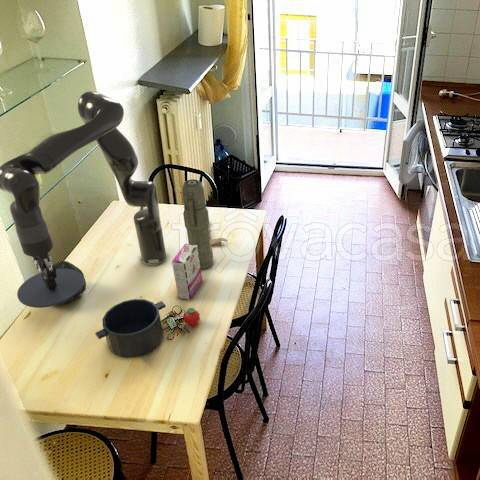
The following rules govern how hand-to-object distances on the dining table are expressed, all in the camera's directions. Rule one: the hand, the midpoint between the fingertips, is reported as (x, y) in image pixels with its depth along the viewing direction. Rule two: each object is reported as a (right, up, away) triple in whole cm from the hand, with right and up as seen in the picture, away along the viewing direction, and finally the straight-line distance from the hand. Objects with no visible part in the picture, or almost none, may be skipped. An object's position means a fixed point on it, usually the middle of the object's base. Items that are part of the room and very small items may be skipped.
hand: (50, 285), depth 148 cm
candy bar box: (+31, -5, +36) cm, 48 cm away
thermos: (+32, +4, +50) cm, 59 cm away
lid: (0, -1, +1) cm, 1 cm away
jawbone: (+34, +15, +67) cm, 77 cm away
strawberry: (+36, -15, +21) cm, 44 cm away
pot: (+20, -18, +15) cm, 31 cm away
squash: (-11, -7, +31) cm, 34 cm away
